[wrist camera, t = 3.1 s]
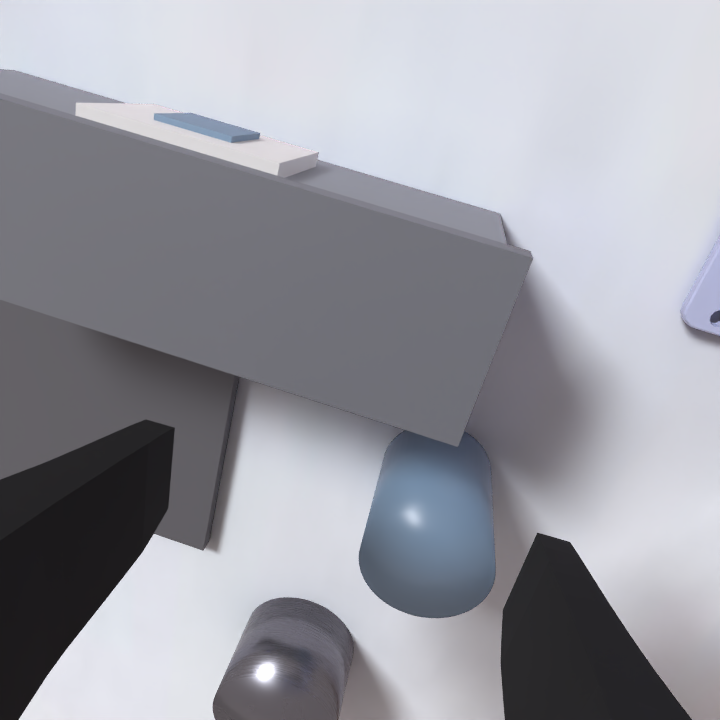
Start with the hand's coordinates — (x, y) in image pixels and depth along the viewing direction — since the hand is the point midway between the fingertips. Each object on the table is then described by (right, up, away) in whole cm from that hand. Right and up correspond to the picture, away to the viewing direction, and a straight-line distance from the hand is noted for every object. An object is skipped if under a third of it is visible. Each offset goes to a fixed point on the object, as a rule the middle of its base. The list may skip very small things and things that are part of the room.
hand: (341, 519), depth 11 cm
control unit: (-3, +8, +8) cm, 12 cm away
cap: (-2, -10, +15) cm, 18 cm away
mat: (-10, +1, +12) cm, 15 cm away
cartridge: (+3, -1, +10) cm, 11 cm away
